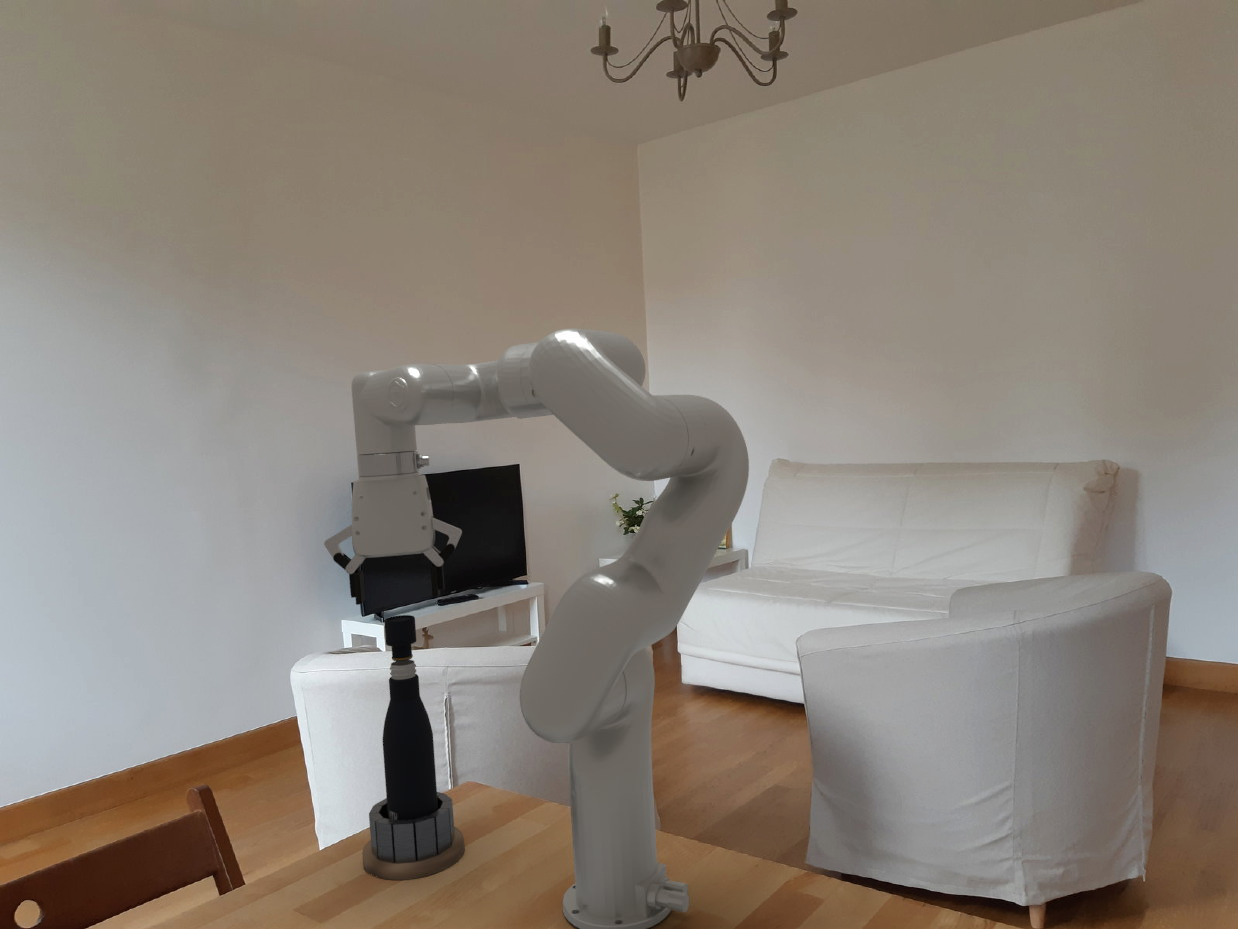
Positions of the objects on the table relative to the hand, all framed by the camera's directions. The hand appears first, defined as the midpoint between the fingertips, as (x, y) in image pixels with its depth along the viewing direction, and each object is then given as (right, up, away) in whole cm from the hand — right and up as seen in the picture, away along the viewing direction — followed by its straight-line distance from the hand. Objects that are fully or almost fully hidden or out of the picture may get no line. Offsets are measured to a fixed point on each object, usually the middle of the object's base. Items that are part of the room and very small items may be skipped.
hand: (398, 599), depth 121 cm
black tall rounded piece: (+2, -33, +2) cm, 33 cm away
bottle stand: (+2, -34, +2) cm, 34 cm away
